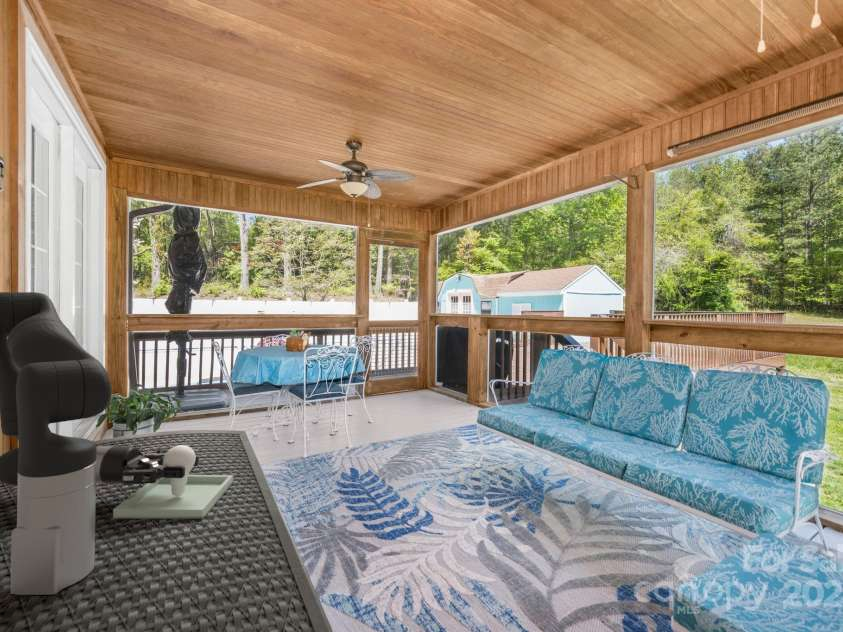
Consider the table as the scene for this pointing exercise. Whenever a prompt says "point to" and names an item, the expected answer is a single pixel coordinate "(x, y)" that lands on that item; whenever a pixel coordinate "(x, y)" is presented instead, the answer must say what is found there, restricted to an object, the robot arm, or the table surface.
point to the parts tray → (175, 499)
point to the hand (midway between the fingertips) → (191, 466)
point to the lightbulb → (179, 457)
